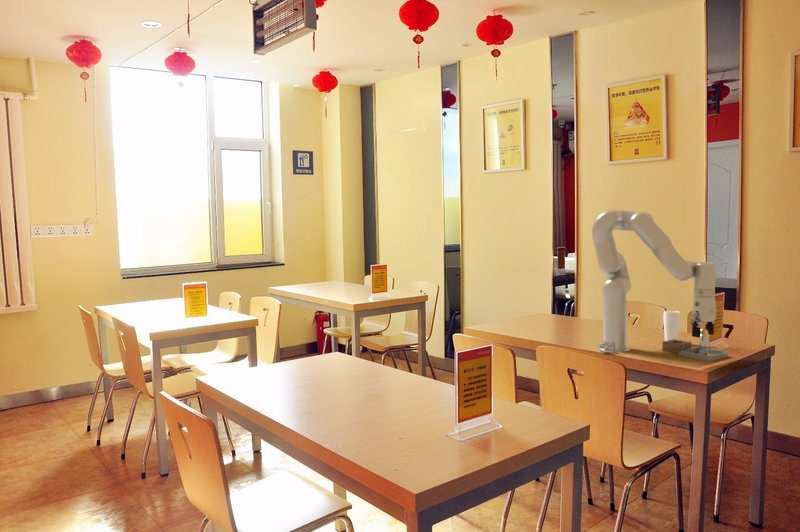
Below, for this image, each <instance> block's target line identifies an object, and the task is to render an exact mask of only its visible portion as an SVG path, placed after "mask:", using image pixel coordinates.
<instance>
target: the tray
mask: <svg viewBox="0 0 800 532" xmlns="http://www.w3.org/2000/svg"><path fill="white" fill-rule="evenodd" d="M697 352H698V353H697ZM708 354H710V355H701V354H699V346H695V347H691V348H690V349H686V350H682V351H679V354H678V356H679V357H685V358H690V359H696V360H700V361H701V360H702V361H707V362H713V361H718V360H720V359H724V358H727V357H729V351H725V350H724V351H723V350H720V349H718V350H717V349H711V348H708Z"/></svg>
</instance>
